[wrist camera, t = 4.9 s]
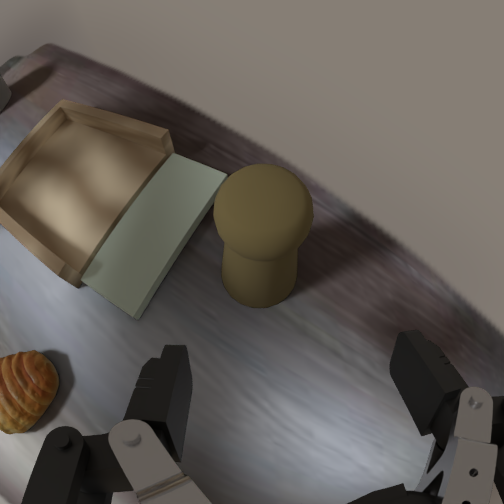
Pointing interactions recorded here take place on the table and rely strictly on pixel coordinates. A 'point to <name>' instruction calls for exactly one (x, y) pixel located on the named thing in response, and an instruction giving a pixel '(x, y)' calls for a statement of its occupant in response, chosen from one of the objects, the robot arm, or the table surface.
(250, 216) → the cork
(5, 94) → the coffee mug
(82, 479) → the robot arm
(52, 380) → the pastry
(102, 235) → the tray
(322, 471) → the table surface
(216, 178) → the panel
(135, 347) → the table surface
